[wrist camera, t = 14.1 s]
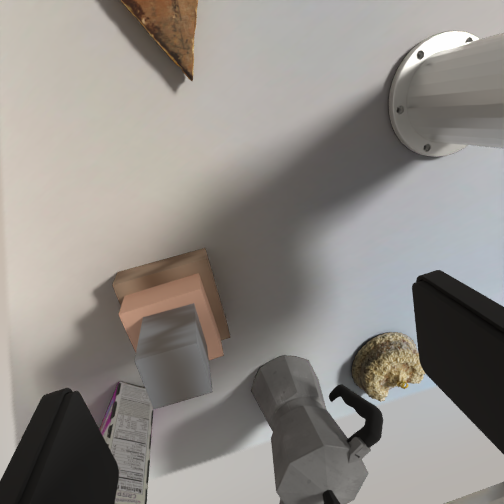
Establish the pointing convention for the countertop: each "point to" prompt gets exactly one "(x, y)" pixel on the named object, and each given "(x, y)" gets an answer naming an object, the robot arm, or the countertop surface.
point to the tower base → (171, 271)
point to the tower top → (167, 299)
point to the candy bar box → (130, 440)
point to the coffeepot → (312, 434)
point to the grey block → (173, 356)
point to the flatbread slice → (169, 27)
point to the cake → (386, 364)
